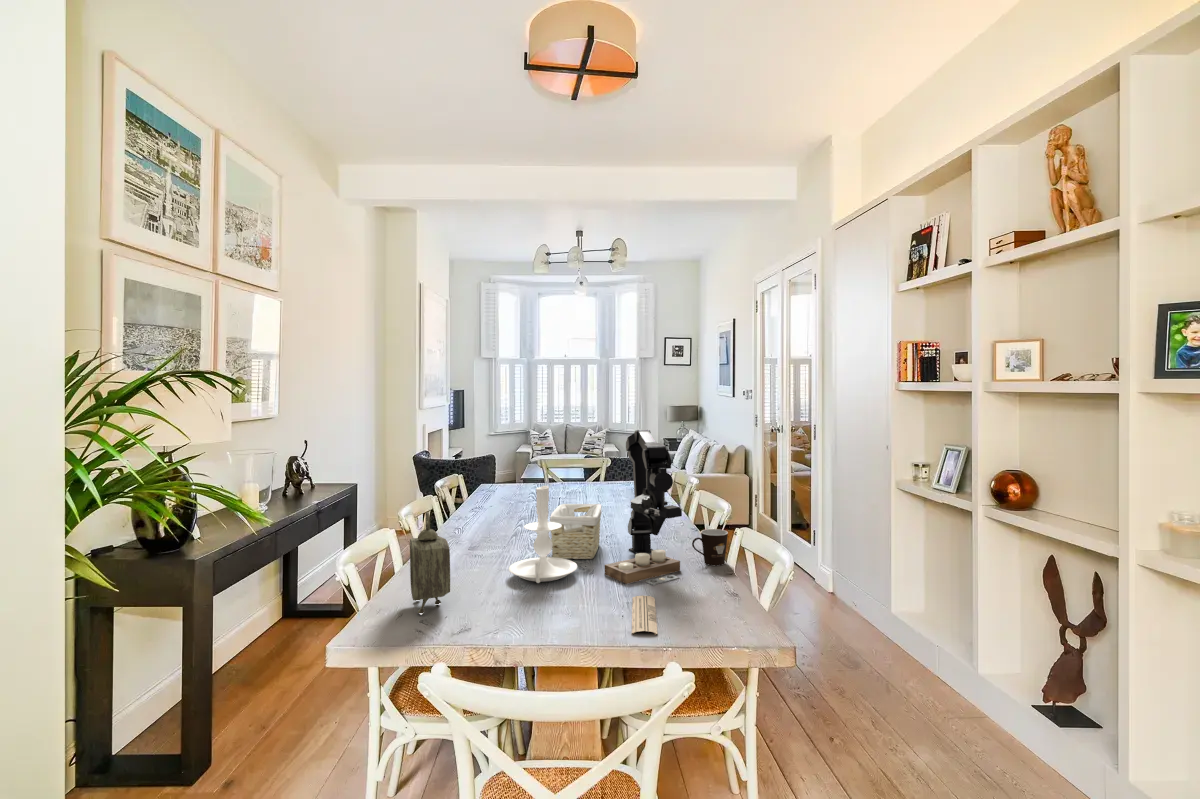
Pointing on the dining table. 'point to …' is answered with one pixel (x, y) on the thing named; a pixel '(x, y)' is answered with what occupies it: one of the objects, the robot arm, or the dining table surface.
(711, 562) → the coffee mug
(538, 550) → the candlestick
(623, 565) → the button
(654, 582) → the card
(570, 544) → the storage basket
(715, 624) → the dining table surface
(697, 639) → the dining table surface
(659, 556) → the button
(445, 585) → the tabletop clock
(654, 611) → the newspaper
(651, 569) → the wooden compartment tray
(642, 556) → the button
